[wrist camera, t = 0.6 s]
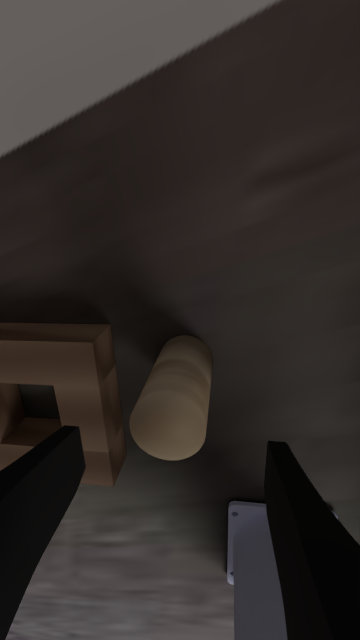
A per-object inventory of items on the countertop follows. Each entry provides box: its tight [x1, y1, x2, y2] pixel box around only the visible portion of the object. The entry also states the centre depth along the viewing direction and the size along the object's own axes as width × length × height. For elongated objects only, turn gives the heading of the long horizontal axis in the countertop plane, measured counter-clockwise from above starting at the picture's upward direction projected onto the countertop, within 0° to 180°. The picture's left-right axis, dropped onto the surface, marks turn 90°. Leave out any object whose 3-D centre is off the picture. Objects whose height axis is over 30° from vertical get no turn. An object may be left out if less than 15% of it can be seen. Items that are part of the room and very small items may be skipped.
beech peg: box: [129, 335, 213, 460], centre depth 18 cm, size 4×4×7 cm
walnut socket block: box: [0, 323, 127, 487], centre depth 22 cm, size 11×11×3 cm
